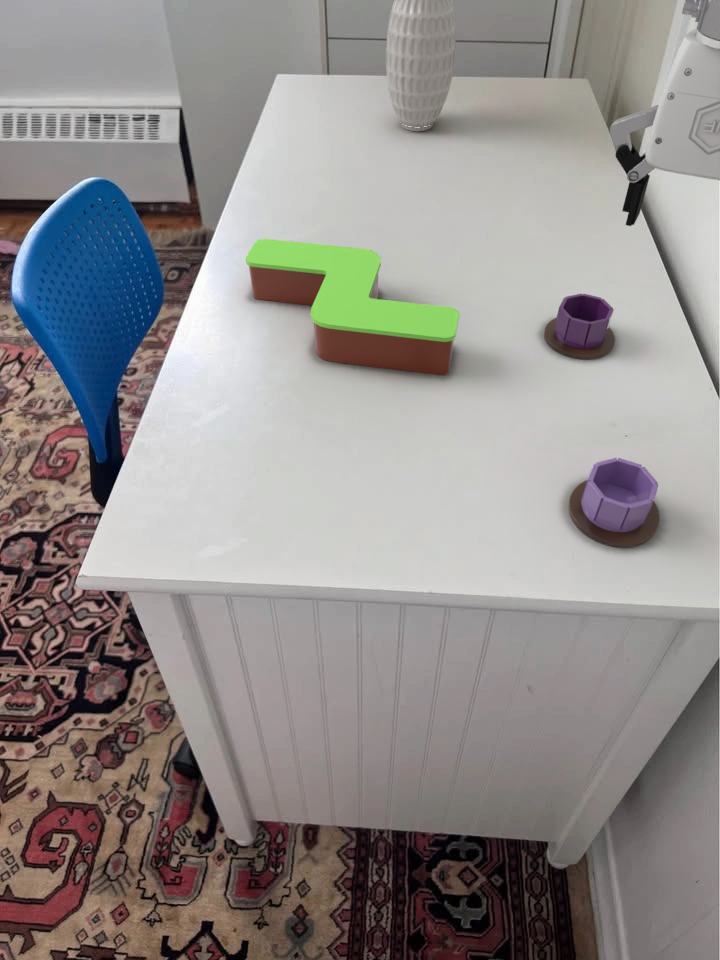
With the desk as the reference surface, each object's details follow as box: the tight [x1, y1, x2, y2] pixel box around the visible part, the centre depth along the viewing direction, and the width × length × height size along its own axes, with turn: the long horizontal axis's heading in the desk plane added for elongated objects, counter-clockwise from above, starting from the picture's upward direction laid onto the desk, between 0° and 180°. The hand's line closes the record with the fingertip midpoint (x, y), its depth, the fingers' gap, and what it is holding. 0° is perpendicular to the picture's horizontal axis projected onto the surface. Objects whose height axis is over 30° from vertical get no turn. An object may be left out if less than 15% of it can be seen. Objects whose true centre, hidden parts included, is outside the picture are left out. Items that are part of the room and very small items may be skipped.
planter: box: [245, 238, 460, 376], centre depth 95 cm, size 30×18×6 cm, turn 78°
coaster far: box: [543, 317, 616, 360], centre depth 94 cm, size 9×9×1 cm
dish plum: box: [554, 293, 614, 349], centre depth 93 cm, size 6×6×4 cm
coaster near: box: [568, 479, 660, 548], centre depth 74 cm, size 9×9×1 cm
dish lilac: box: [581, 457, 659, 532], centre depth 72 cm, size 6×6×4 cm
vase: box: [385, 0, 457, 132], centre depth 132 cm, size 13×13×28 cm
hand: (684, 229), depth 67 cm, fingers open, 9 cm apart
